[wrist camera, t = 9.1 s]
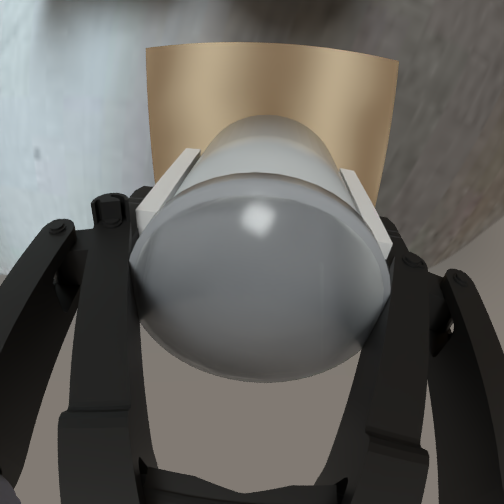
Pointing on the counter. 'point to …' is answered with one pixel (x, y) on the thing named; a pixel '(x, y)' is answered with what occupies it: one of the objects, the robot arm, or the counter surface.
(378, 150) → the oak block
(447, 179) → the counter surface
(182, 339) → the canister
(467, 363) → the robot arm
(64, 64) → the counter surface
